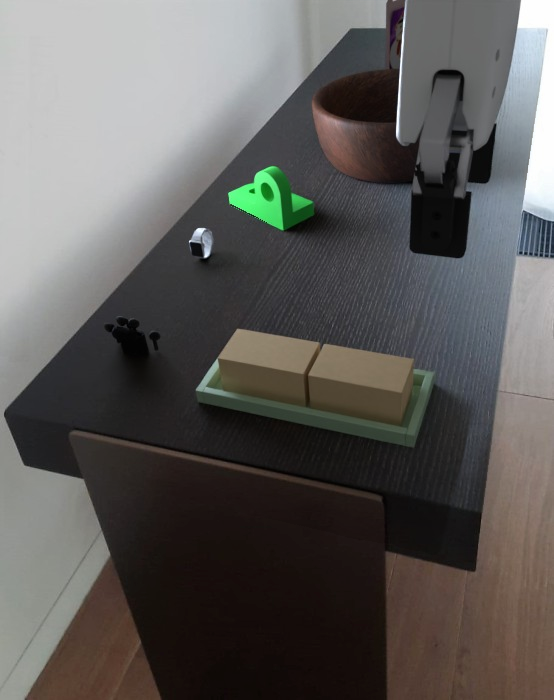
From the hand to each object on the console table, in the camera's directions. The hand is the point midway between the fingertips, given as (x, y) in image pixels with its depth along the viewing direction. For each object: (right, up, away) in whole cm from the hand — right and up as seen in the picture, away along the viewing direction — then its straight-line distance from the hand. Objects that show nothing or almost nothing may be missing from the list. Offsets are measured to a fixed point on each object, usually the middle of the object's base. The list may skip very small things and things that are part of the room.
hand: (452, 214), depth 45 cm
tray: (-7, -13, +27) cm, 31 cm away
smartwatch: (-21, +4, +50) cm, 54 cm away
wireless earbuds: (-27, -9, +34) cm, 45 cm away
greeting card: (+13, +48, +101) cm, 113 cm away
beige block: (-12, -12, +28) cm, 33 cm away
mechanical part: (-12, +12, +59) cm, 61 cm away
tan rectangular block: (-3, -14, +25) cm, 28 cm away
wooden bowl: (+8, +22, +69) cm, 73 cm away
